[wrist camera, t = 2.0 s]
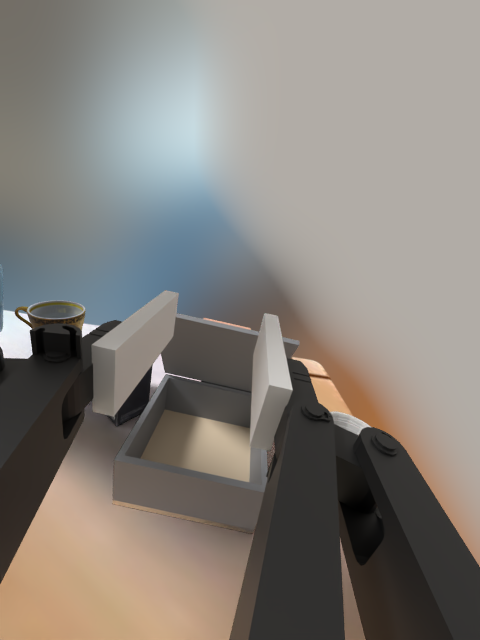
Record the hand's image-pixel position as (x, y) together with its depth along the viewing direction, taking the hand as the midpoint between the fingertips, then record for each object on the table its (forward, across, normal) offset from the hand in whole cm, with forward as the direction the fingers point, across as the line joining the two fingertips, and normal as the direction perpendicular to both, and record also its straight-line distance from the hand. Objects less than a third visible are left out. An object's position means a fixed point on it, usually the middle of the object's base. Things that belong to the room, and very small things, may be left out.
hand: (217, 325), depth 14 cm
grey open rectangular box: (+15, 0, -30) cm, 33 cm away
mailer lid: (+19, 0, -14) cm, 24 cm away
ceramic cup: (+34, -38, -30) cm, 59 cm away
